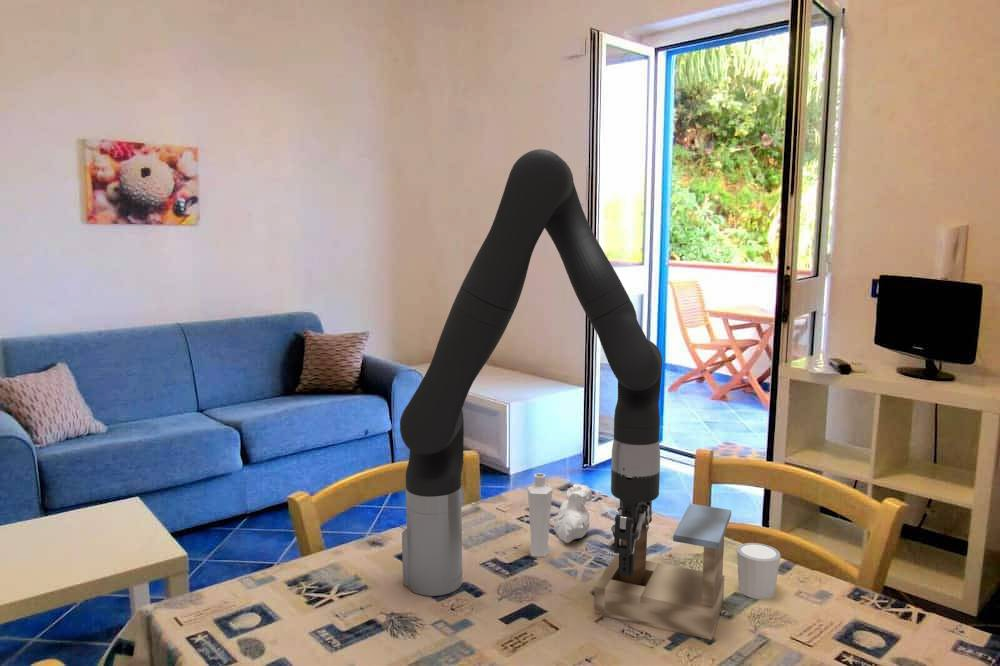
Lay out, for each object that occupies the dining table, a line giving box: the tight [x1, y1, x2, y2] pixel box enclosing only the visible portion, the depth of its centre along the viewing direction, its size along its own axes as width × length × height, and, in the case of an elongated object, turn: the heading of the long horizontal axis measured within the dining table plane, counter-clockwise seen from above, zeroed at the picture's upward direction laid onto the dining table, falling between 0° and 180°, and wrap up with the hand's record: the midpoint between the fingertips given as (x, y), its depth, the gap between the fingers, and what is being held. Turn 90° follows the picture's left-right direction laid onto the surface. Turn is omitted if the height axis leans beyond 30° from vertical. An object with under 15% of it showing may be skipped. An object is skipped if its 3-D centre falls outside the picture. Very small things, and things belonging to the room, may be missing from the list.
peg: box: [620, 525, 648, 586], centre depth 118 cm, size 4×4×12 cm
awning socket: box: [593, 503, 732, 641], centre depth 116 cm, size 18×13×16 cm
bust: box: [553, 483, 593, 544], centre depth 143 cm, size 12×8×11 cm
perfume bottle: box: [527, 472, 553, 558], centre depth 135 cm, size 5×4×15 cm
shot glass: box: [736, 542, 781, 600], centre depth 122 cm, size 7×7×7 cm
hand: (632, 563), depth 118 cm, fingers open, 8 cm apart
